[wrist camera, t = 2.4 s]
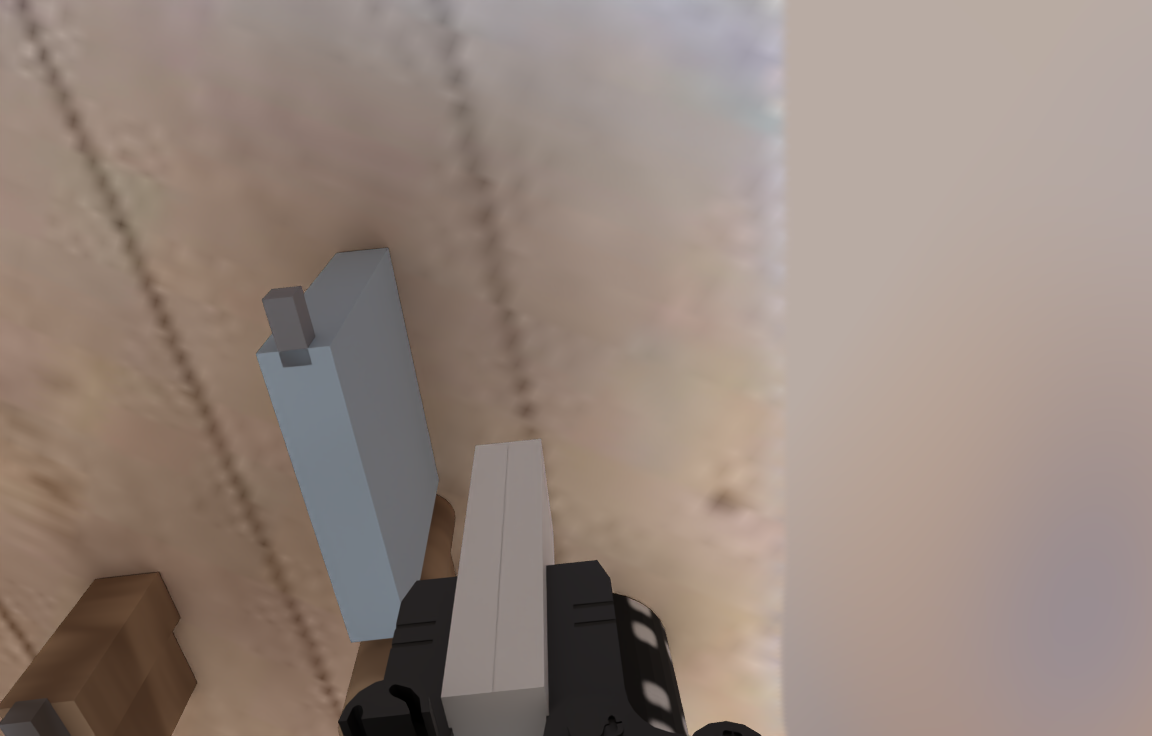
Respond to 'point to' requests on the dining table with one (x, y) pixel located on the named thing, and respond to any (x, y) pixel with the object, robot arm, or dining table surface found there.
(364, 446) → the gate
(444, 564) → the pair of brown blocks
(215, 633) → the dining table surface
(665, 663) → the white-spotted black cylinder
